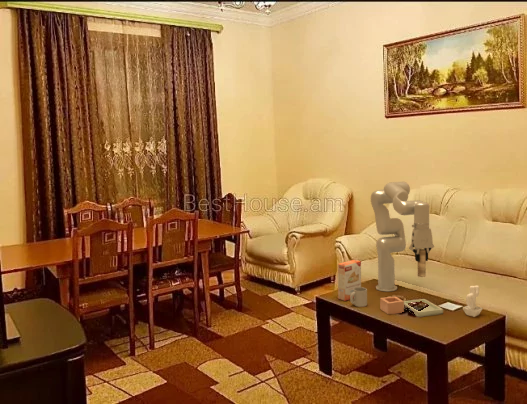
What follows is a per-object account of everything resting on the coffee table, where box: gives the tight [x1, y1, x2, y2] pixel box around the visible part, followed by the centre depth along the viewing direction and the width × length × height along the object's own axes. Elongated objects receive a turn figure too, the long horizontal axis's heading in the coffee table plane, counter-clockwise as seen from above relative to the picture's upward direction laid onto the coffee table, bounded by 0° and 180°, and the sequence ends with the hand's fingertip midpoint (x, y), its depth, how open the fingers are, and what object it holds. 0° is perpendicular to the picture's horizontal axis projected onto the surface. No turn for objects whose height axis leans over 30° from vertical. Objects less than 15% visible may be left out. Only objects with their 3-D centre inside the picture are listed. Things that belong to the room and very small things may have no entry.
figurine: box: [462, 285, 483, 318], centre depth 259 cm, size 7×9×15 cm
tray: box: [403, 298, 444, 318], centre depth 270 cm, size 18×14×2 cm
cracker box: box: [337, 259, 362, 302], centre depth 294 cm, size 14×6×21 cm, turn 129°
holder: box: [379, 296, 405, 315], centre depth 270 cm, size 9×9×6 cm
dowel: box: [417, 249, 427, 278], centre depth 267 cm, size 4×4×14 cm
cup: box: [349, 286, 368, 308], centre depth 281 cm, size 7×10×9 cm
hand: (421, 260), depth 267 cm, fingers closed on dowel, 4 cm apart
